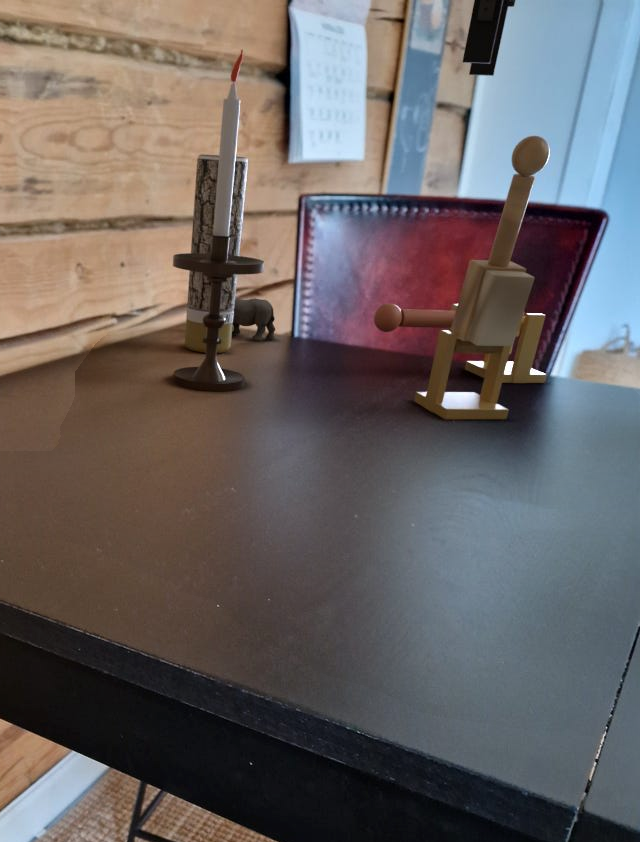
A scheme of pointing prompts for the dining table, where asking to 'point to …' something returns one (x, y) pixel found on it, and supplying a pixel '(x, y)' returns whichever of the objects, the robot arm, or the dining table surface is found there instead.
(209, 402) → the dining table surface
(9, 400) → the dining table surface
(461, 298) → the brush near
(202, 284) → the paper tube
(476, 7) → the robot arm
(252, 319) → the rhino figurine
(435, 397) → the bracket near
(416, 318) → the brush far
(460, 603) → the dining table surface
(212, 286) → the candlestick
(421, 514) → the dining table surface
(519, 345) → the bracket far
